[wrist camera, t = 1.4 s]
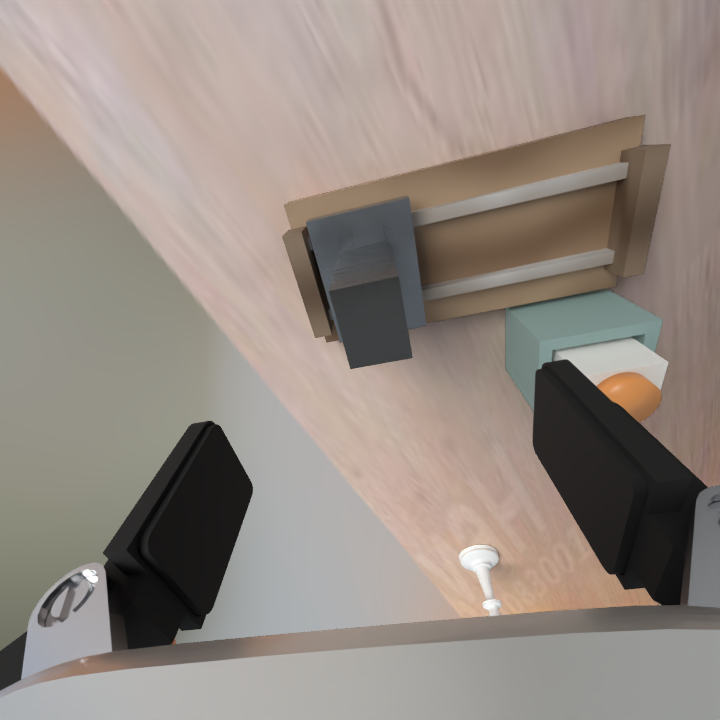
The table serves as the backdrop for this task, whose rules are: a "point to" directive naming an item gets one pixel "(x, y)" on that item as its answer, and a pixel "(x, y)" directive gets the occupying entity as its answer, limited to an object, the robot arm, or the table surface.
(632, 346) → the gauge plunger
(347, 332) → the carriage
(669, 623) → the robot arm
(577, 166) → the rail track
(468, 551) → the chess piece
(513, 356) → the grey-green housing
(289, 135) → the table surface
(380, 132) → the table surface
